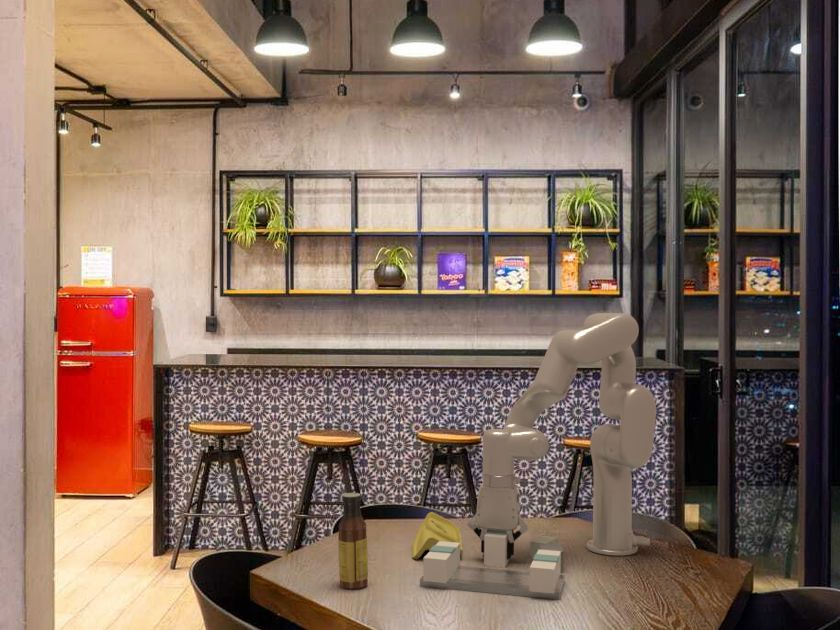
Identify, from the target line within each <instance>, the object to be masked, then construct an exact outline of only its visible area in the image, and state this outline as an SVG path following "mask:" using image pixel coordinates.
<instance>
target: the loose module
mask: <svg viewBox="0 0 840 630" xmlns="http://www.w3.org/2000/svg"><path fill="white" fill-rule="evenodd" d="M507 543H508V535H507V532H506V530H497V529H488V530H487V532H486V534H485V536H484V557H483V566H484V565H485V566H487V567H495V566H496V567H497V568H499V567H500V568H506V567H507V565H508V563H509V561H510V560H509V559H507ZM505 566H506V567H505Z"/></svg>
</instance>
